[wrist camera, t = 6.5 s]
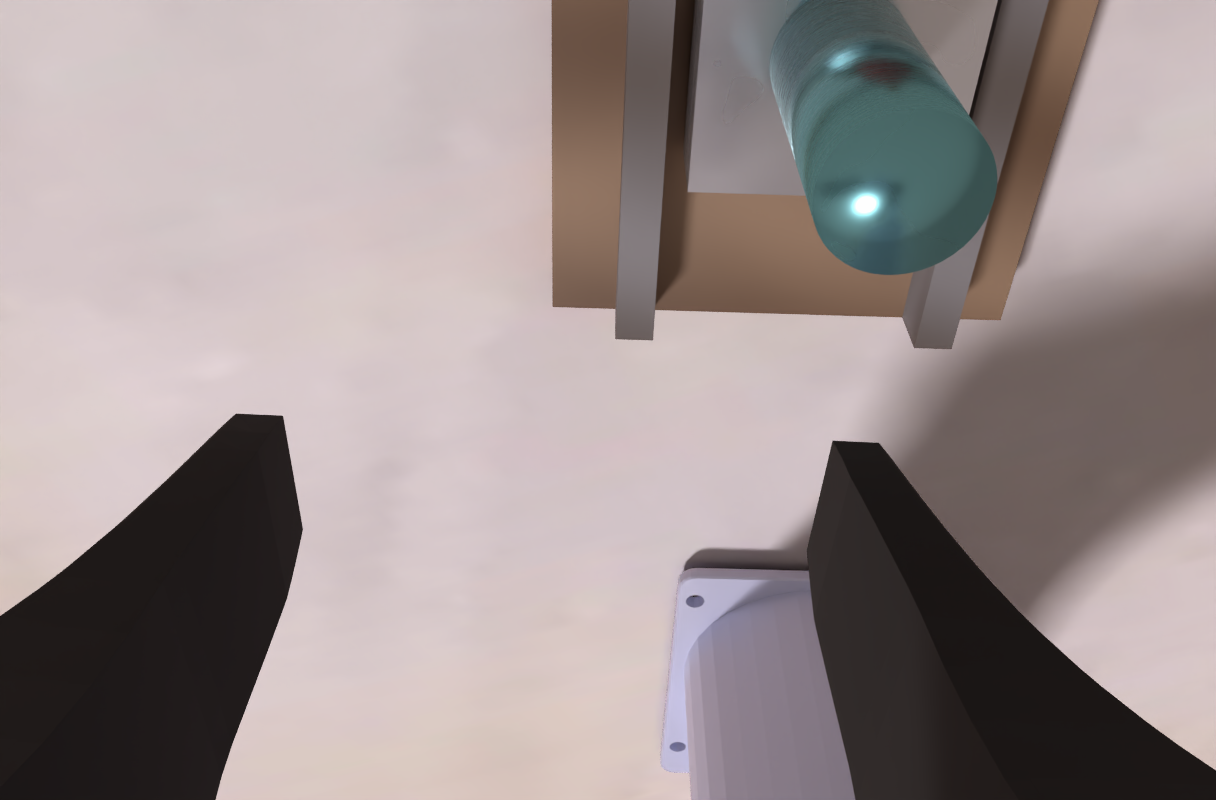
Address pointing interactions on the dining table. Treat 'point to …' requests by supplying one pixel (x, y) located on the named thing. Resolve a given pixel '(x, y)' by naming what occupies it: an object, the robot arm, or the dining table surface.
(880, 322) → the dining table surface
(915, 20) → the ram
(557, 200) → the frame
